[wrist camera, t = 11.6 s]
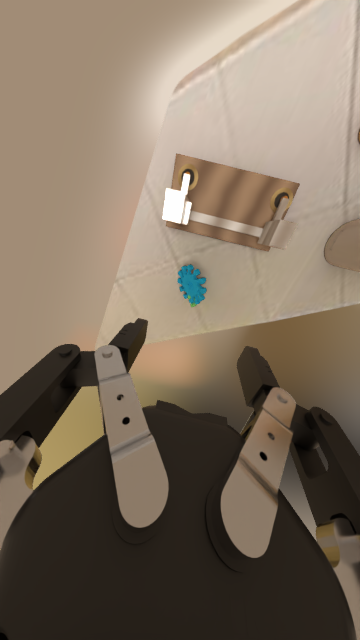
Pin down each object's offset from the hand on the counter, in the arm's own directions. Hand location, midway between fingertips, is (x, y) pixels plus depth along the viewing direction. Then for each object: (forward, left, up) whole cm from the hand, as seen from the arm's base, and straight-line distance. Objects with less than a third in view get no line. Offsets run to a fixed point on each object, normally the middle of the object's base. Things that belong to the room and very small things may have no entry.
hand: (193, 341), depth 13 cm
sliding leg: (+7, -12, -30) cm, 33 cm away
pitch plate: (-2, -13, -32) cm, 35 cm away
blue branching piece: (+1, +5, -32) cm, 33 cm away
